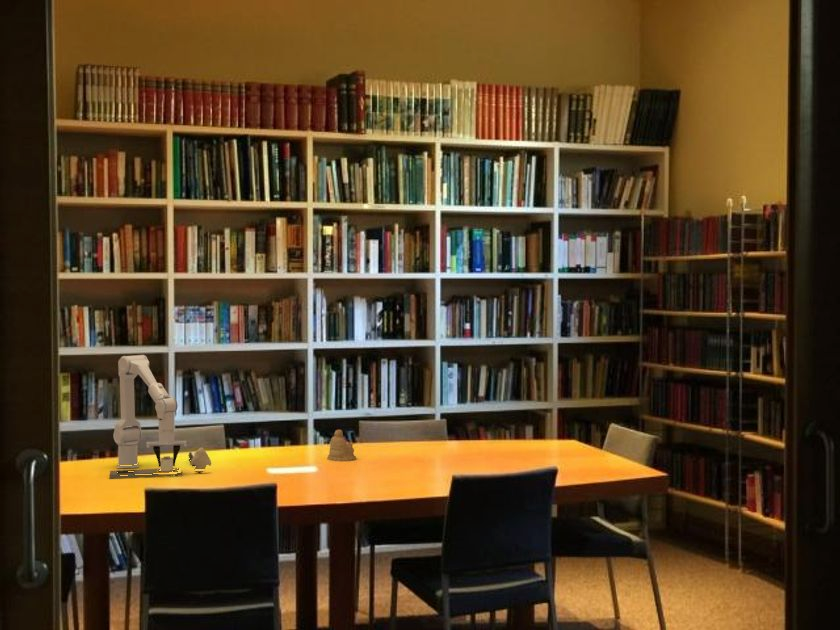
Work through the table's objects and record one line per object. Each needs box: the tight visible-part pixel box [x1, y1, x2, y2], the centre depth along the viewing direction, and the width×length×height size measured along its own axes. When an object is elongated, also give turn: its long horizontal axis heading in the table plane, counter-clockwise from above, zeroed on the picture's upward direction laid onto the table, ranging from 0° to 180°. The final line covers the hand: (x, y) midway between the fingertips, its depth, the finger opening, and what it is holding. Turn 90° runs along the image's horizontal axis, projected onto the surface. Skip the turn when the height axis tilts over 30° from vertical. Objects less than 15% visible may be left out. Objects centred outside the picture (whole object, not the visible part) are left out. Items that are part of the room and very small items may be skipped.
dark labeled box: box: [188, 451, 197, 466], centre depth 422 cm, size 14×25×4 cm, turn 16°
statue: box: [327, 429, 357, 463], centre depth 435 cm, size 12×14×10 cm
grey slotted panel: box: [109, 467, 183, 480], centre depth 399 cm, size 8×26×2 cm, turn 104°
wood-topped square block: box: [160, 455, 174, 472], centre depth 401 cm, size 4×4×6 cm
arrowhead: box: [189, 447, 212, 473], centre depth 404 cm, size 8×3×10 cm, turn 104°
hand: (166, 466), depth 401 cm, fingers closed on wood-topped square block, 4 cm apart
